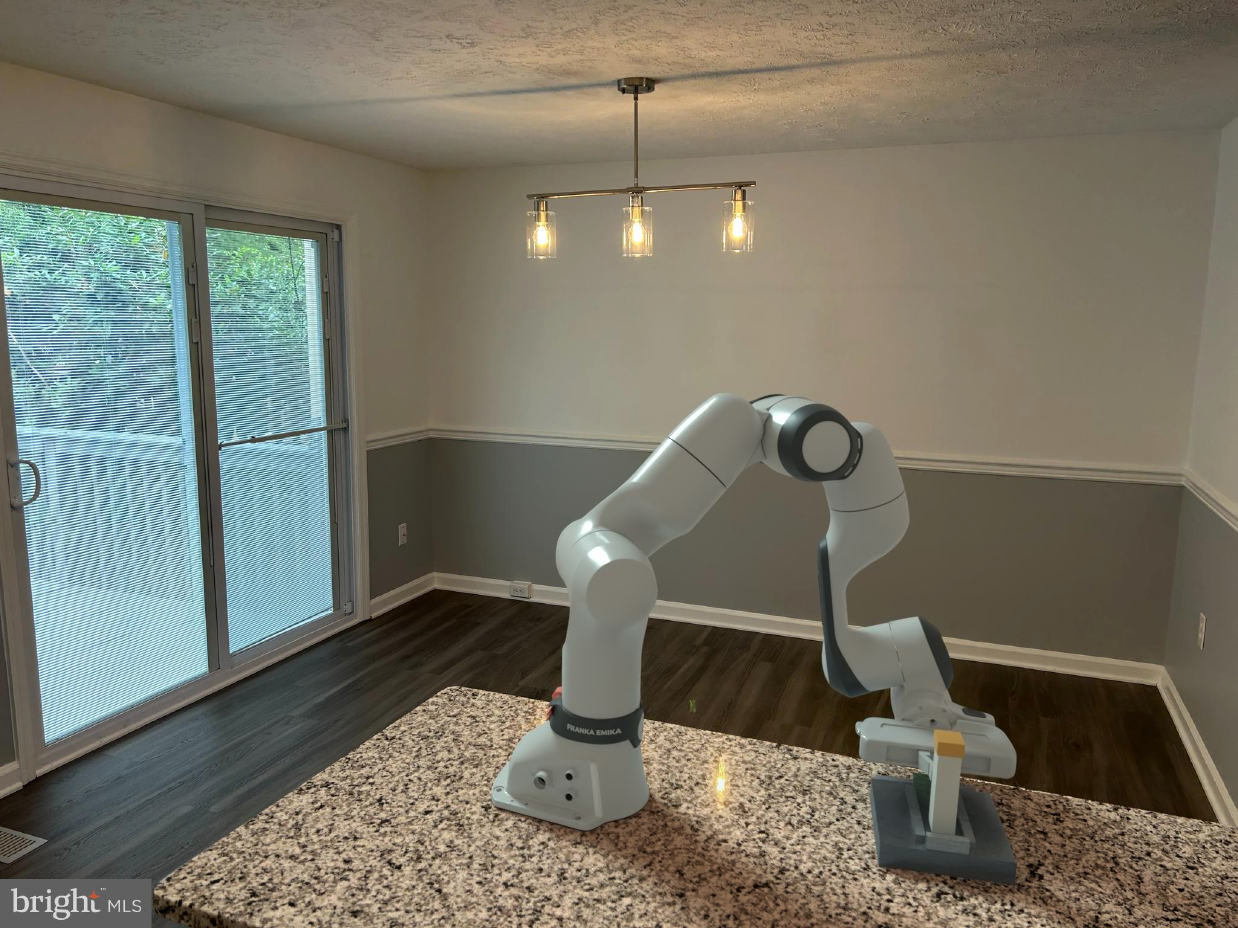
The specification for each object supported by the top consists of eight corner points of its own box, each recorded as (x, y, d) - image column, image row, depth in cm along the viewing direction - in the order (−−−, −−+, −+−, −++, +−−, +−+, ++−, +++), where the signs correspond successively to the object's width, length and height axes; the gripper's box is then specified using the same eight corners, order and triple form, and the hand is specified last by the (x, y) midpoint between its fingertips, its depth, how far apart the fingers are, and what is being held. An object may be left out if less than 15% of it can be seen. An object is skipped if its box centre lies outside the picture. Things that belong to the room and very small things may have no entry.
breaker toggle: (930, 832, 111) (938, 741, 108) (926, 817, 114) (934, 729, 112) (956, 836, 110) (965, 744, 108) (952, 821, 113) (960, 732, 111)
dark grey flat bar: (876, 796, 125) (877, 788, 125) (874, 781, 129) (875, 774, 128) (979, 809, 122) (980, 801, 122) (974, 794, 126) (975, 786, 126)
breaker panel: (878, 865, 109) (881, 830, 108) (869, 797, 124) (872, 766, 124) (1014, 884, 106) (1018, 849, 105) (988, 812, 121) (991, 780, 120)
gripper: (855, 699, 127) (861, 744, 114) (1004, 715, 123) (1028, 764, 110) (853, 739, 128) (858, 788, 115) (1000, 756, 124) (1023, 809, 111)
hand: (942, 777), depth 112 cm, fingers closed, pressing on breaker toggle
